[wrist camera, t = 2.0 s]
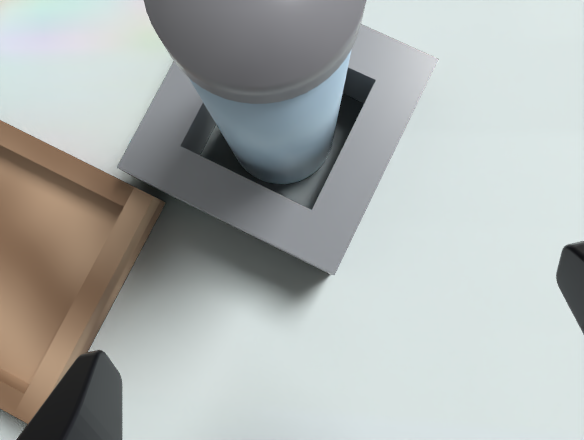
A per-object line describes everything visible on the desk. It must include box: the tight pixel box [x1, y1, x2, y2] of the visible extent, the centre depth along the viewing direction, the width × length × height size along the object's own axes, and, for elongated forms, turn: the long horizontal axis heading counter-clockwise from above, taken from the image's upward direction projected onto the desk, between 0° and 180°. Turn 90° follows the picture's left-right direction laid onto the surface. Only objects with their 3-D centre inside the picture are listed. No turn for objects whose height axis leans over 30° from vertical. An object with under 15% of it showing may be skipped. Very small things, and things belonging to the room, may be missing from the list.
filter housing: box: [117, 24, 439, 275], centre depth 22 cm, size 10×10×3 cm
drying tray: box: [0, 120, 166, 424], centre depth 22 cm, size 11×11×2 cm
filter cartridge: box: [144, 0, 366, 184], centre depth 17 cm, size 5×5×12 cm
